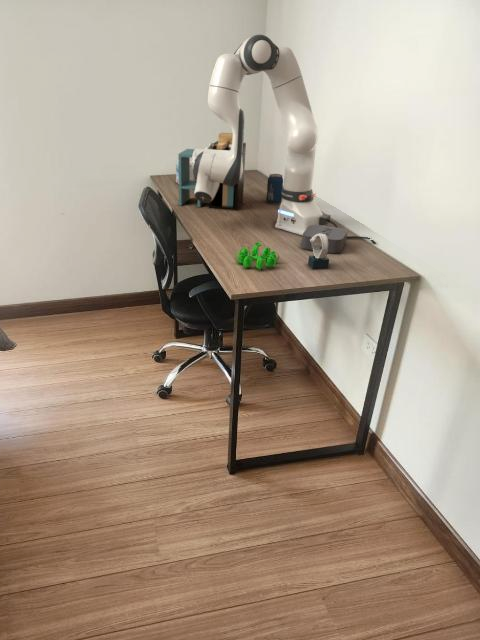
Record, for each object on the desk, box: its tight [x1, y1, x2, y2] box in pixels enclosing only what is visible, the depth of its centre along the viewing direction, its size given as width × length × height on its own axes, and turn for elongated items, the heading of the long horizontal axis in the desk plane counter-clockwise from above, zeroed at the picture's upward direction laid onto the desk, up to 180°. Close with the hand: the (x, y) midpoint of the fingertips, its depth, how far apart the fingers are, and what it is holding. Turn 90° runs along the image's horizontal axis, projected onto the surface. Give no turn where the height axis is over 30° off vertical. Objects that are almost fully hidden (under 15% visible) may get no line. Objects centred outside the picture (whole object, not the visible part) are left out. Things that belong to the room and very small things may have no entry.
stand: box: [177, 148, 206, 208], centre depth 242 cm, size 12×10×22 cm
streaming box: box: [301, 225, 348, 254], centre depth 198 cm, size 14×14×5 cm
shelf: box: [208, 140, 247, 211], centre depth 236 cm, size 11×13×26 cm
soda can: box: [265, 173, 284, 205], centre depth 245 cm, size 7×7×12 cm
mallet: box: [217, 132, 233, 150], centre depth 223 cm, size 15×7×4 cm, turn 162°
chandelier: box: [234, 242, 280, 271], centre depth 183 cm, size 15×15×7 cm
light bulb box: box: [175, 160, 195, 185], centre depth 274 cm, size 11×7×11 cm, turn 17°
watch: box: [307, 233, 330, 270], centre depth 180 cm, size 6×8×11 cm
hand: (221, 145), depth 220 cm, fingers open, 7 cm apart
